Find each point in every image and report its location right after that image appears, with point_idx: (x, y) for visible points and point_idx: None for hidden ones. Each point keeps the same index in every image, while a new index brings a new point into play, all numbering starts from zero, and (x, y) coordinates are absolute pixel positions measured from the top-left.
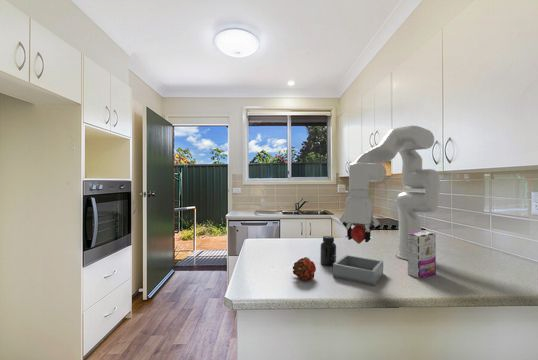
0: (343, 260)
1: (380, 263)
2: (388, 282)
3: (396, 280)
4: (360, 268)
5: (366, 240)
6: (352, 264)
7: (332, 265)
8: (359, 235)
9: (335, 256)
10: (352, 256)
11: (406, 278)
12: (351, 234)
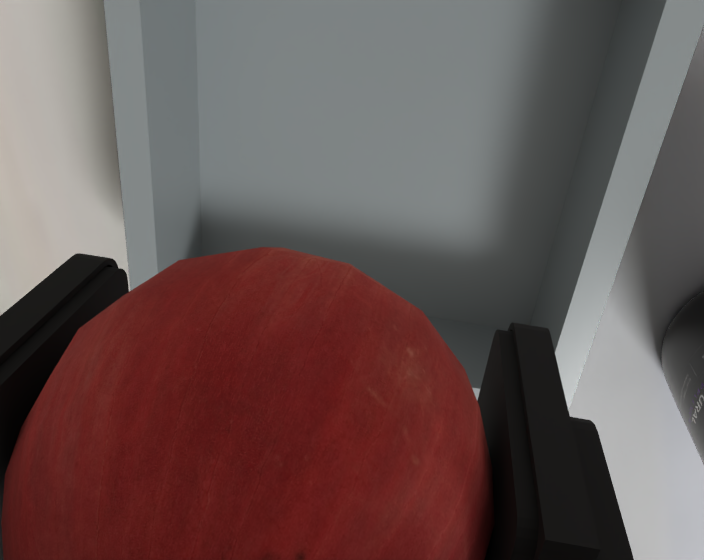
0: (578, 253)
1: (135, 265)
2: (90, 79)
3: (52, 170)
4: (384, 284)
5: (69, 270)
6: (473, 333)
7: (698, 294)
8: (166, 288)
9: (695, 388)
10: (477, 391)
11: (6, 257)
12: (454, 382)
